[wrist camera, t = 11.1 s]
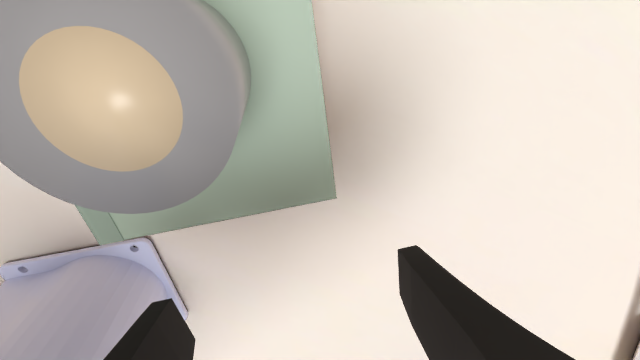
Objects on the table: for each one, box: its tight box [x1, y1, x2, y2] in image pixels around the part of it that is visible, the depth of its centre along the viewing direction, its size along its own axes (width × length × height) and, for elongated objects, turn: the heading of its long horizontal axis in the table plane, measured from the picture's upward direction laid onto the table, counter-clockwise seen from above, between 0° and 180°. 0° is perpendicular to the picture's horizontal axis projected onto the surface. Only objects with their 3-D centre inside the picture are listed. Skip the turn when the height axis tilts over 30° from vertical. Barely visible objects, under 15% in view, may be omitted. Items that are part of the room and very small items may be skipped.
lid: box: [74, 0, 337, 245], centre depth 10 cm, size 10×13×1 cm
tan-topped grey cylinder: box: [0, 0, 251, 214], centre depth 8 cm, size 5×5×5 cm
